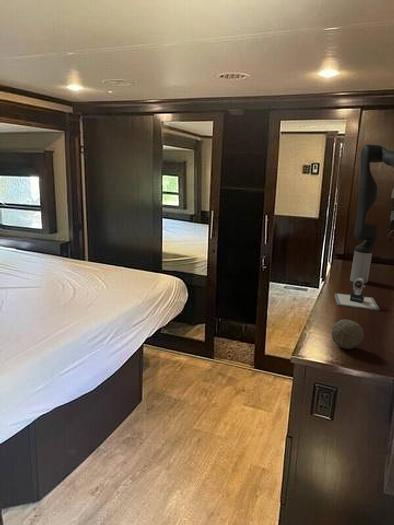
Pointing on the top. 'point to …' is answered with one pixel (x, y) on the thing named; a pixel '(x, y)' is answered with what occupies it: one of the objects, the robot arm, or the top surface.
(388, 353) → the top surface
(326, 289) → the top surface
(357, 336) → the decorative stone
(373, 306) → the mat
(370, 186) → the robot arm
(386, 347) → the top surface
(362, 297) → the watch
